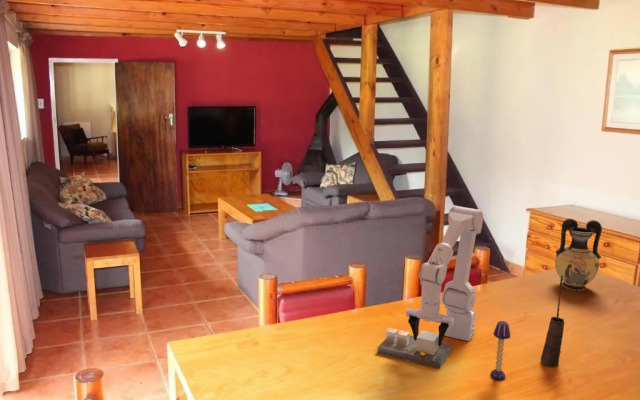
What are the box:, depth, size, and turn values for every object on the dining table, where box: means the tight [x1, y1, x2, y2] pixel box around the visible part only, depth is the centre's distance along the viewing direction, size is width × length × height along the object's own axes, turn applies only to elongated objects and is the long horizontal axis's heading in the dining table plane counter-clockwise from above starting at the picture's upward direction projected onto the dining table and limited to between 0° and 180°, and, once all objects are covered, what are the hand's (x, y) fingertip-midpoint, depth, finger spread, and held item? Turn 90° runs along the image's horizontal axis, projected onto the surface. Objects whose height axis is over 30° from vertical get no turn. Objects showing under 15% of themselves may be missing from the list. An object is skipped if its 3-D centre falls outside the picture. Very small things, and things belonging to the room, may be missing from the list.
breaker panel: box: [377, 327, 453, 370], centre depth 174 cm, size 20×13×6 cm, turn 62°
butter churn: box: [540, 275, 565, 368], centre depth 166 cm, size 9×10×28 cm
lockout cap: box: [416, 330, 439, 355], centre depth 172 cm, size 6×6×4 cm
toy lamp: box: [489, 320, 511, 381], centre depth 160 cm, size 5×5×17 cm
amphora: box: [554, 218, 603, 292], centre depth 232 cm, size 18×17×30 cm
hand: (427, 341), depth 172 cm, fingers open, 7 cm apart
